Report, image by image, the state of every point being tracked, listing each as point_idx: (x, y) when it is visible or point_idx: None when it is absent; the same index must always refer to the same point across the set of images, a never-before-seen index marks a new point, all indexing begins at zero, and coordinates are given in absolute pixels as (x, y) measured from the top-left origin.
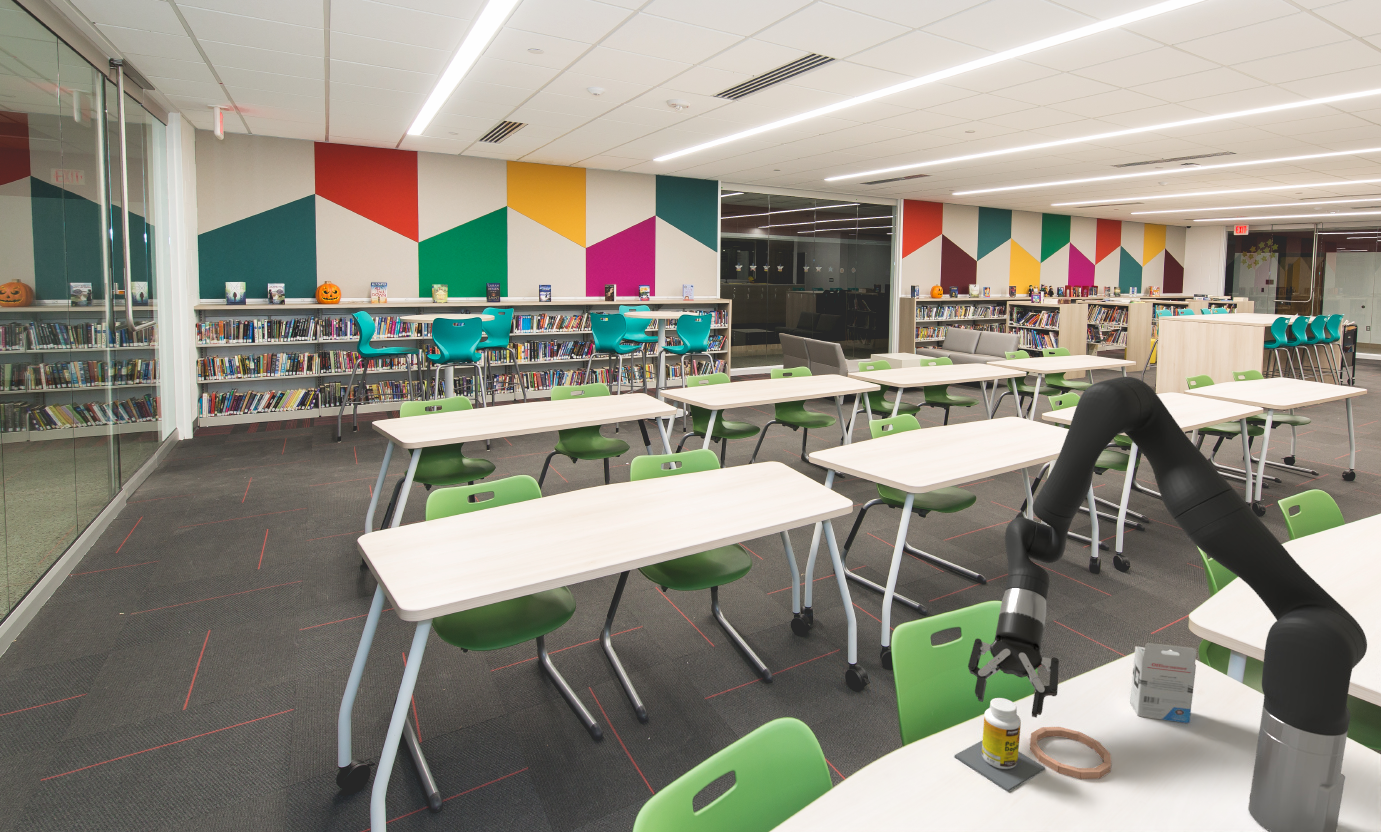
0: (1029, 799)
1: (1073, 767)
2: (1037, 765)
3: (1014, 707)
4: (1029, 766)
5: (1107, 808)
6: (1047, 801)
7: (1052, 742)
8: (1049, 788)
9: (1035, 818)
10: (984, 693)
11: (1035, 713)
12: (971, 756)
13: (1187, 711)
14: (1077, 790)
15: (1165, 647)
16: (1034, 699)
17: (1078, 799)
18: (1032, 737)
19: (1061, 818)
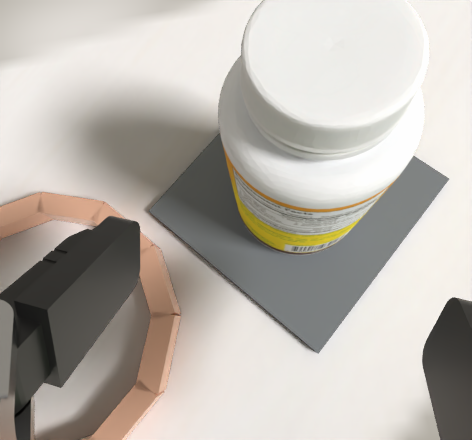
0: (222, 64)
1: (57, 211)
2: (172, 212)
3: (257, 27)
4: (199, 198)
5: (24, 97)
6: (175, 72)
7: (86, 395)
8: (158, 127)
9: (218, 4)
10: (434, 407)
11: (116, 217)
12: (390, 190)
13: None
14: (80, 144)
15: None
16: (83, 267)
17: (89, 107)
18: (158, 360)
19: (154, 24)
